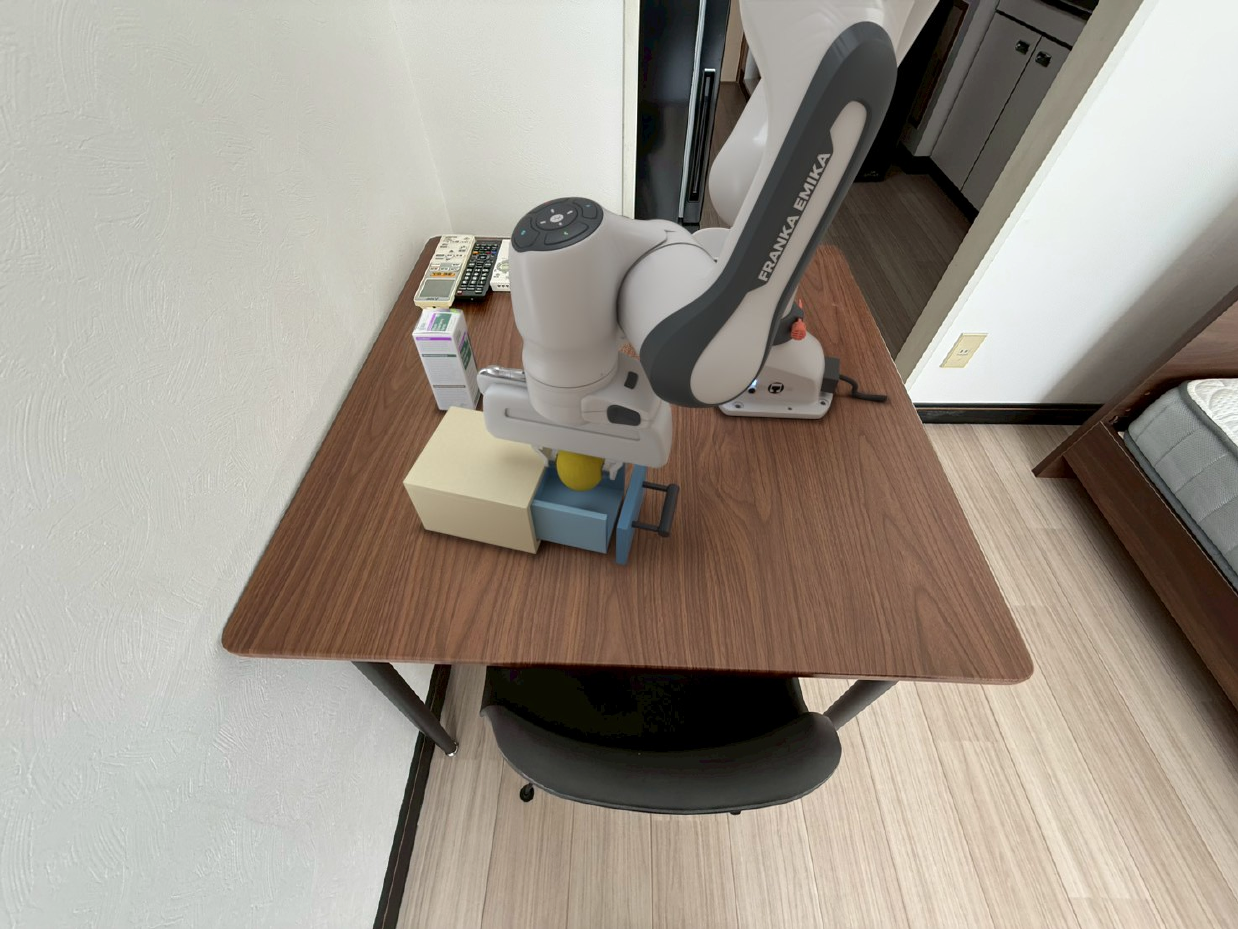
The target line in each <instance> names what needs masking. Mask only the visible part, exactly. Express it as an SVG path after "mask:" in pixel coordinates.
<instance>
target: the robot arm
mask: <svg viewBox="0 0 1238 929" xmlns="http://www.w3.org/2000/svg"><path fill="white" fill-rule="evenodd" d="M939 2H940V0H738V4H739V14H740V19H741V24H742V28H743V33H744V36H745V39H746V43H747V46H748V48H749V50H750V53H751V55H752V58H753V59H754V62H755V64H756V66H757V68H758V73H759V75H760V77H761V78H760V80H759V82H758V84H757V85H756V87H755V89H754V91H753V92H752V94H751V96H750V98H749V100H748V101H747V103H746V105H745V107H744V109H743V110H742V113H741V115H740V117H739V119H738V120H737V122H736V124H735V126H734V127H733V130H732V131H731V133H730V135H729V136H728V138H727V139H726V141H725V143H724V144H723V146H722V147H721V149H720V151H719V152H718V154H717V155H716V157H715V159H714V161H713V163H712V165H711V168H710V172H709V176H708V193H709V197H710V201H711V204H712V206H713V208H714V210H715V212H716V214H717V215H718V216H719V218H720V219H721V220H722V221H723V222H725V224H727V225H728V226H729V227H730V228H729V229H730V230H729V232H728V234H727V236H726V238H725V241H724V244H723V248H722V251H721V254H720V256H719V258H718V260H717V263H716V262H715V261H714V260H713V258H712V257H711V255H710V254H709V253H708V252H707V251H706V249H705V248H704V247H703V246H702V245H701V244H700V243H699V242H698V241H697V240H696V239H695V238H694V237H693V235H692V234H693V233H691V232H690V231H688V229H687V228H685V227H684V226H683V225H681V224H680V223H679V222H676V221H673V220H671V219H667V218H649V219H645V220H643V219H635V218H631V217H629V218H627V217H628V216H627V217H623V216H624V215H623V216H620V215H621V214H617V213H614V212H612V211H610V210H609V209H607V208H605V207H604V206H603V205H602V204H600V203H599V202H598V201H596V200H593V199H591V198H587V197H582V196H581V197H580V196H566V197H559V198H554V199H550V200H548V201H545V202H542V203H541V204H538V205H536V206H535V207H533V208H532V209H531V210H529V211H528V212H526V213H525V214H524V215H523V216H522V217H521V218H520V219H519V221H517V223H516V225H515V226H514V229H513V230H512V233H511V236H510V240H509V245H508V254H507V259H508V260H507V268H508V281H509V291H510V300H511V305H512V311H513V312H512V313H513V317H514V323H515V326H516V329H517V331H518V333H519V335H520V336H521V338H522V342H523V345H522V351H521V360H522V367H523V369H521V368H515V367H504V366H501V365H499V364H498V365H497V364H489V365H487V367H482V368H481V369H478V373H477V383H478V386H479V390H480V392H481V393H480V394H482V395H483V398H482V409H483V411H482V412H483V413H484V420H485V426H486V429H487V431H488V432H489V433H490V434H491V435H492V436H494V437H495V438H498V439H504V440H509V441H514V442H520V443H525V444H530V445H531V447H532V449H533V450H534V451H535V452H536V453H537V454H538V455H539V456H540V457H541V458H543V460H544V466H545V467H551V468H556V469H557V457H558V452H559V450H562V451H568V452H573V453H578V454H583V455H589V456H594V457H599V458H604V459H605V461H604V465H603V466H602V469H601V472H602V478H606V479H611V480H614V479H615V477H616V474H617V470H618V469H619V468H620V467H621V466H623V463H624V462H626V464H633V465H635V464H636V465H642V466H647V468H652V469H660V468H662V467H663V466H665V465H667V463H668V460H669V457H670V454H671V449H672V444H673V437H674V436H673V432H674V431H673V430H674V428H673V427H674V426H673V416H672V415H673V414H672V407H671V405H674V406H677V407H682V408H688V409H707V408H714V407H718V408H719V409H720V411H721V412H722V413H723V414H724V415H726V416H733V417H734V416H737V417H756V418H757V417H758V418H759V417H760V418H761V417H762V418H786V419H805V420H807V419H809V420H816V419H817V420H818V419H821V418H822V417H824V416H825V415H826V414H827V413H828V411H829V409H830V407H831V403H832V401H833V396H834V393H835V391H836V389H837V387H838V384H839V382H840V381H842V382H845V383H848V384H849V385H850V386H851V395H853V397H856V398H857V399H860V400H866V401H884V402H886V401H887V400H888V395H885V394H884V395H883V394H865V393H861V392H860V391H858V390H859V383H858V382H857V381H856V380H855V379H853V378H851V377H849V376H847V375H845V374H842V373H840V372H841V371H840V369H841V368H840V367H841V358H839V357H832V356H827V355H825V354H824V353H825V352H824V350H823V347H822V345H821V343H820V341H819V340H818V339H817V338H816V337H815V336H814V335H812V334H811V333H810V332H809V331H808V330H807V324H806V323H805V322H804V319H805V311H804V309H803V303H802V299H801V298H799V299H798V303H797V302H796V301H795V298H796V295H797V292H798V288H799V285H800V282H801V280H802V278H803V276H804V274H805V273H806V271H807V269H808V267H809V265H810V263H811V262H812V260H813V257H814V256H815V254H816V252H817V251H818V248H819V247H820V245H821V242H822V241H823V239H824V237H825V235H826V233H827V231H828V229H829V227H830V226H831V224H832V222H833V221H834V218H835V217H836V215H837V212H838V211H839V209H840V207H841V205H842V203H843V201H844V199H845V198H846V196H847V194H848V192H849V190H850V188H851V186H852V184H853V183H854V181H855V178H856V176H857V175H858V173H859V171H860V169H861V167H862V165H863V163H864V161H865V159H866V158H867V155H868V153H869V151H870V149H871V147H872V145H873V143H874V141H875V139H876V138H877V134H878V132H879V130H880V128H881V126H882V124H883V121H884V119H885V117H886V115H887V114H886V113H887V112H888V110H889V107H890V105H891V101H892V98H893V95H894V91H895V87H896V83H897V79H898V78H897V77H898V68H899V66H900V64H901V63H902V62H903V61H904V58H905V57H906V55H907V53H908V52H909V51H910V49H911V47H912V45H913V44H914V43H915V41H916V39H917V37H918V36H919V34H920V32H921V31H922V29H923V28H924V27H925V24H926V23H927V21H928V19H929V18H930V17H931V15H932V13H933V12H934V10H935V8H936V7H937V5H938V3H939ZM626 344H630V345H631V347H632V348H633V350H634V352H635V353H636V355H637V356H638V358H639V359H637V358H635V357H633V356H631V355H629V354H627V353H626V352H623V351H622V350H620V349H621V348H622V347H623V346H625V345H626Z"/></svg>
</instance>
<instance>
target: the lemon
mask: <svg viewBox="0 0 1238 929" xmlns="http://www.w3.org/2000/svg"><path fill="white" fill-rule="evenodd" d="M603 465H604V458H599V457H594V456H589V455H583V454H578V453H573V452H568V451H562V450H559V452H558V457H557V471H558V475H559V477H560V479H561V481H562V482H563V483H564V484H565V485H566V486H567V487H568V488H570V489H572V490H575V491H581V492H582V491H588V490H591V489H592V488H594V487H595V486H596V485H598V484H599V482H600V481H601V479H602V472H601V469H602V466H603Z"/></svg>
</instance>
